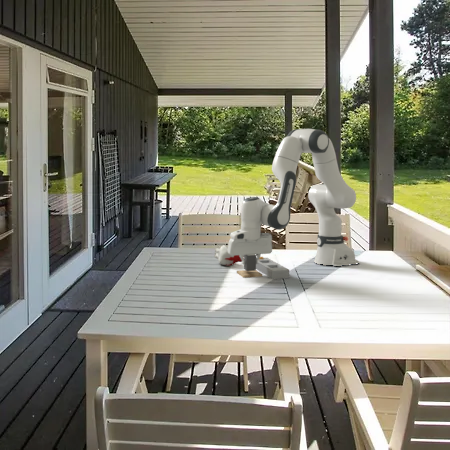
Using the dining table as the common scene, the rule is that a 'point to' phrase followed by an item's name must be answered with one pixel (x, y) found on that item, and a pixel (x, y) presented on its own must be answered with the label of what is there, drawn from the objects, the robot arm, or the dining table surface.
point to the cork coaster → (249, 273)
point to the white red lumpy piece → (226, 256)
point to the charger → (250, 262)
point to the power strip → (272, 269)
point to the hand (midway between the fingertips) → (249, 264)
